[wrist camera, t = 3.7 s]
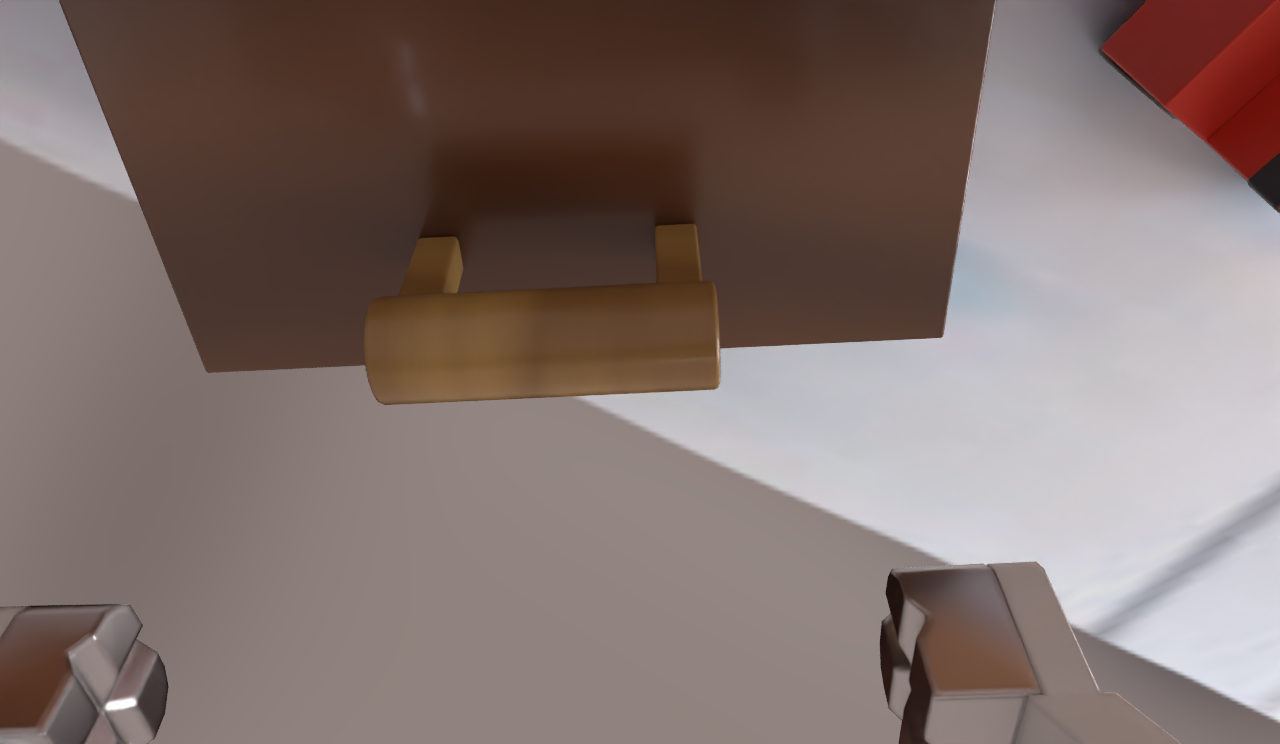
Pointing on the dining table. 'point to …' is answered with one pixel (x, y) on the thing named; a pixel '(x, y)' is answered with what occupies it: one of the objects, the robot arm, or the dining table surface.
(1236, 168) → the red stepped block
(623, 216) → the chest lid
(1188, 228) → the dining table surface
